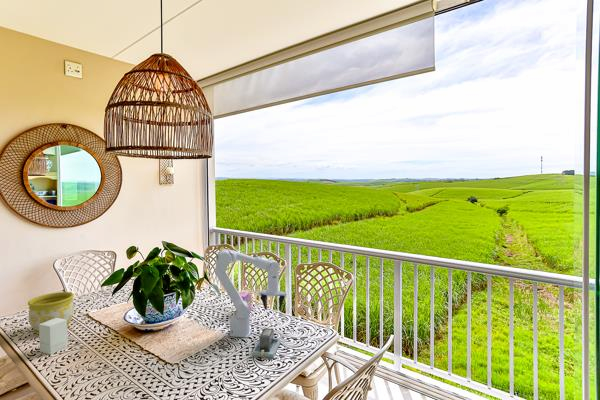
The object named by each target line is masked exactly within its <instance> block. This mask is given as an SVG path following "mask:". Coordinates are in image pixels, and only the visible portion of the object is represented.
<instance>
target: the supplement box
mask: <svg viewBox="0 0 600 400" xmlns="http://www.w3.org/2000/svg"><path fill="white" fill-rule="evenodd" d="M38 335H39V337H38V338H39V352H40V353H44V354H47V355H53V354H54V353H57V352H60V351H62V350H63V349H66V348H67V347H68V346H69V345H68V340H69V339H68V326H67V320H65V319H60V318H54V319H52V320H49V321H47V322H44V323H41V324H39V334H38Z"/></svg>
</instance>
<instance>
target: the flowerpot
mask: <svg viewBox="0 0 600 400" xmlns="http://www.w3.org/2000/svg"><path fill="white" fill-rule="evenodd" d="M74 295H75V294H74V293H73V292H72V291H71V292H70V291H57V292H51V293H45V294H42V295H38V296H35V297H33V298H31V299H30V300H28V301H27V305H28V306H29V307H28V309H29V310H28V323H29V325H30V326H31V328H32V329H34V330H33V332H34V333H35V334H36V335H39V324H41V323H44V322H47V321H49V320H52V319H54V318H60V319H65V320H67V327H68V326H69V325H70V324H71V322H70V321H71V319H72V318H73V315H74V312H75V306H74V305H75V304H74Z"/></svg>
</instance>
